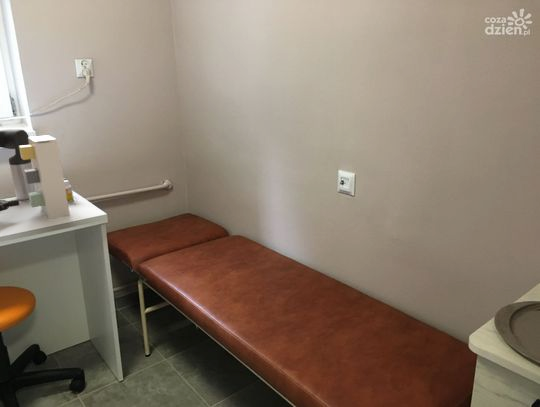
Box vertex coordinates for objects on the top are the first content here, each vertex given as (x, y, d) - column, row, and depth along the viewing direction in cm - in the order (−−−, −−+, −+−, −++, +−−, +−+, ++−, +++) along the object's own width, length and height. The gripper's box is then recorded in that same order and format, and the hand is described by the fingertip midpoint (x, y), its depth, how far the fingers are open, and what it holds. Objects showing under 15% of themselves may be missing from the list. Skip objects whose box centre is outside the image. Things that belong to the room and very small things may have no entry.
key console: (41, 209, 194) (27, 137, 185) (60, 205, 199) (48, 135, 189) (49, 218, 180) (34, 141, 171) (69, 214, 185) (56, 139, 175)
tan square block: (21, 157, 180) (18, 145, 179) (38, 155, 184) (36, 143, 182) (23, 159, 175) (20, 147, 174) (41, 157, 179) (38, 145, 177)
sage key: (30, 204, 186) (28, 193, 184) (47, 201, 189) (45, 190, 188) (32, 207, 181) (30, 195, 180) (49, 204, 185) (47, 193, 183)
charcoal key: (25, 181, 183) (23, 169, 181) (42, 178, 186) (40, 167, 185) (28, 184, 178) (25, 172, 177) (45, 181, 182) (43, 169, 180)
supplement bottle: (58, 202, 204) (54, 182, 201) (67, 199, 209) (64, 179, 206) (67, 203, 202) (63, 182, 199) (76, 200, 207) (72, 180, 204)
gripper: (-33, 205, 165) (19, 196, 174) (-34, 198, 175) (15, 190, 184) (-29, 224, 167) (22, 214, 176) (-30, 215, 177) (18, 207, 187)
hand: (18, 202), depth 180 cm, fingers closed
